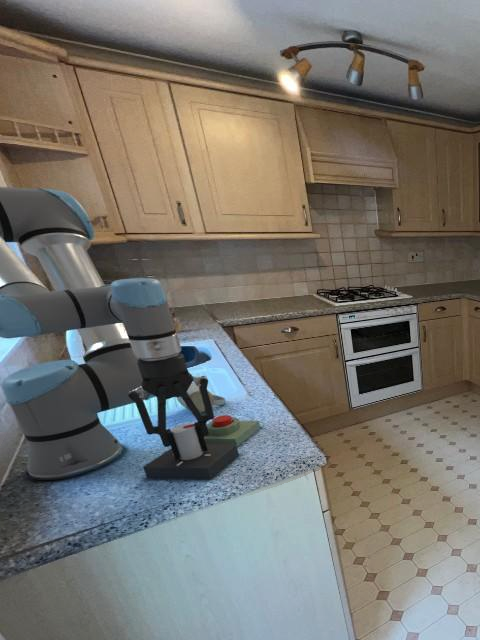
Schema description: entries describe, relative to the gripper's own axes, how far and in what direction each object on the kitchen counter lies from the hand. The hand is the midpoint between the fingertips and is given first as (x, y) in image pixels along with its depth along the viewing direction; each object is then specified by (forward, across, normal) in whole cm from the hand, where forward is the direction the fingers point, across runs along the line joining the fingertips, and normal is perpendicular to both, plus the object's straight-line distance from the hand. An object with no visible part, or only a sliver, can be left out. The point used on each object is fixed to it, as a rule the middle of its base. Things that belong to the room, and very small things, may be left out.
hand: (191, 452), depth 92 cm
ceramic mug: (+4, +7, +36) cm, 37 cm away
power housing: (+4, +8, +12) cm, 15 cm away
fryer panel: (+4, 0, 0) cm, 4 cm away
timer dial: (+1, 0, 0) cm, 1 cm away
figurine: (+4, +10, +152) cm, 152 cm away
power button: (0, +8, +12) cm, 14 cm away
